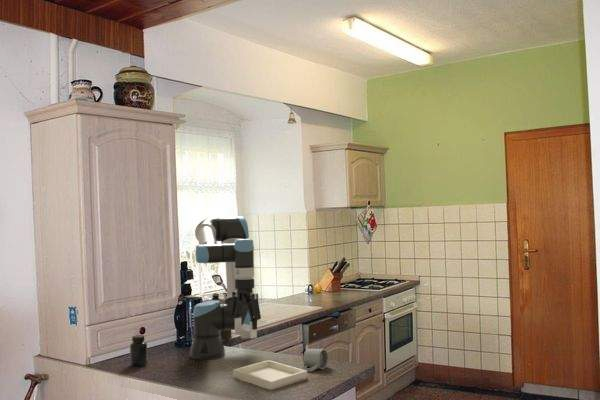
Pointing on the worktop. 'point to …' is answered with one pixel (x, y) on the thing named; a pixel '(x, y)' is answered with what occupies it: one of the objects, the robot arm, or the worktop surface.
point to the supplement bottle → (138, 351)
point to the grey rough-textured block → (244, 331)
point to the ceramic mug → (315, 359)
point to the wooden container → (225, 333)
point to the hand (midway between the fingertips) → (245, 336)
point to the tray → (270, 374)
